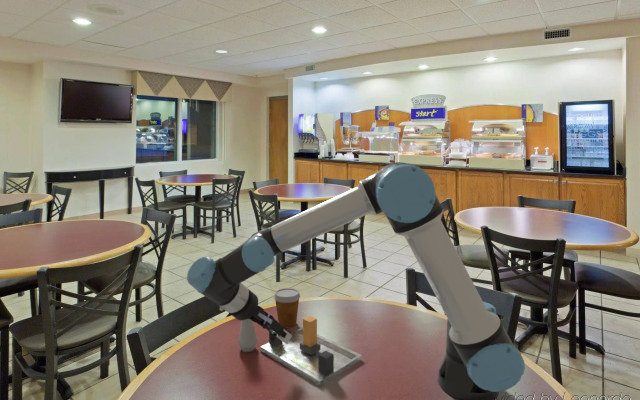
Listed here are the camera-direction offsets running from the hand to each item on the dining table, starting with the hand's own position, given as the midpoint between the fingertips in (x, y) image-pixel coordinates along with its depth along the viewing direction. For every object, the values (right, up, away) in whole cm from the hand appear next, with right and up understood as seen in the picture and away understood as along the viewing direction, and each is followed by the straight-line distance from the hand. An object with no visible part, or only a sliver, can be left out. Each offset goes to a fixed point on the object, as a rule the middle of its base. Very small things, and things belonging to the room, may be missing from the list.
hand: (288, 339), depth 111 cm
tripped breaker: (+6, -5, +6) cm, 10 cm away
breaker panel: (+6, -7, +6) cm, 12 cm away
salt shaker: (-14, -7, +10) cm, 19 cm away
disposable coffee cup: (-3, -5, +27) cm, 28 cm away
